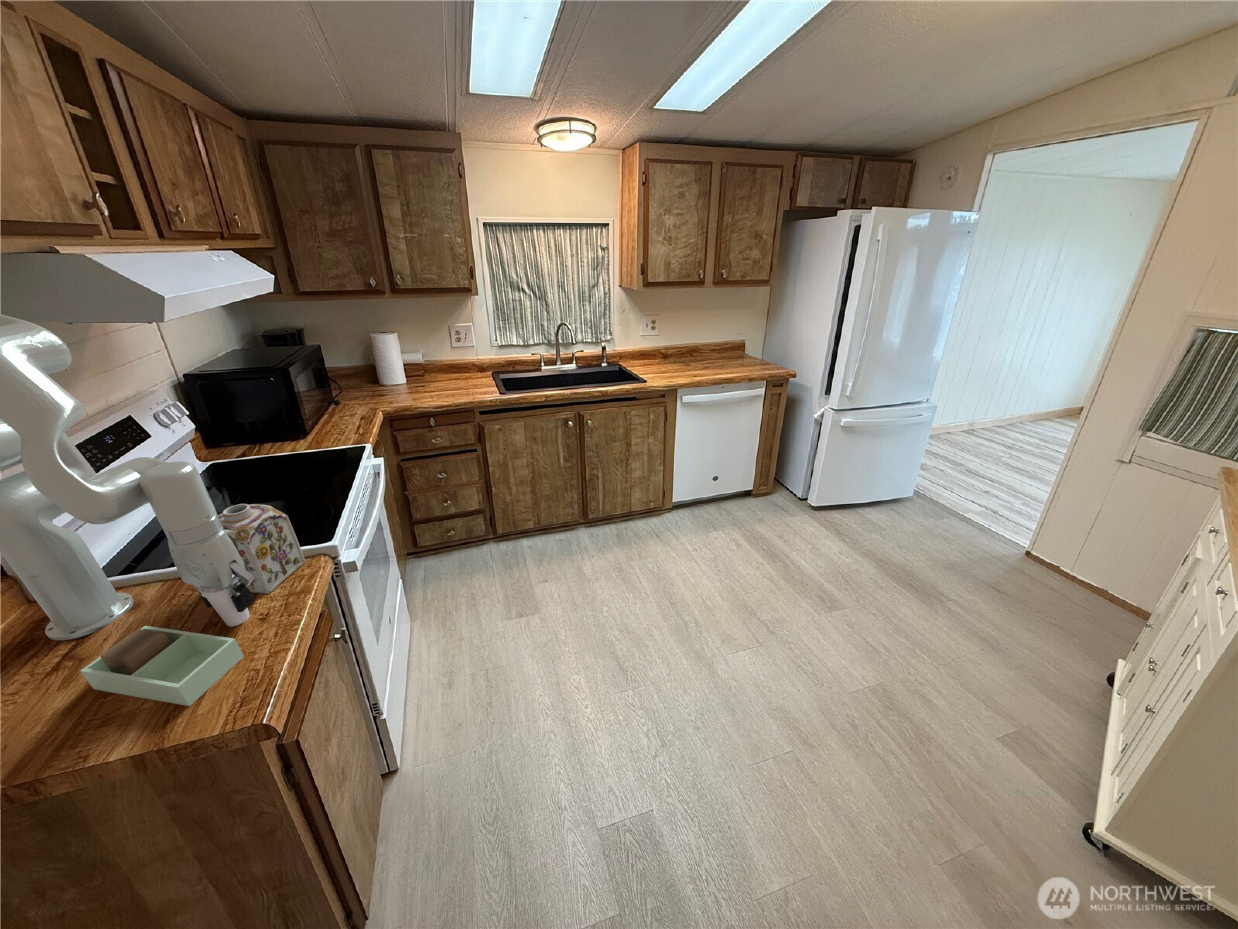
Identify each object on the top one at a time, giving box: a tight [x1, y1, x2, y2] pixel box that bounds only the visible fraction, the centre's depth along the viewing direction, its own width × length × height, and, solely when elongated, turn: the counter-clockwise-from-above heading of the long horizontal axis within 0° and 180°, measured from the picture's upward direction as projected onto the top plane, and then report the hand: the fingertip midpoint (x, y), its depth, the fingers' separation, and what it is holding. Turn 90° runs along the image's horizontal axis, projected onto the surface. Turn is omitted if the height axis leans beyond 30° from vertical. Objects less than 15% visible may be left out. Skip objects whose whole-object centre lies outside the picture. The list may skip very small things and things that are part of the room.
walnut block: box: [99, 628, 172, 676], centre depth 83 cm, size 6×6×6 cm
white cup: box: [199, 574, 250, 627], centre depth 92 cm, size 6×6×14 cm
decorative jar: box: [218, 503, 306, 595], centre depth 104 cm, size 12×12×18 cm
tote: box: [80, 625, 245, 707], centre depth 83 cm, size 20×10×5 cm, turn 80°
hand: (230, 604), depth 93 cm, fingers closed on white cup, 6 cm apart
